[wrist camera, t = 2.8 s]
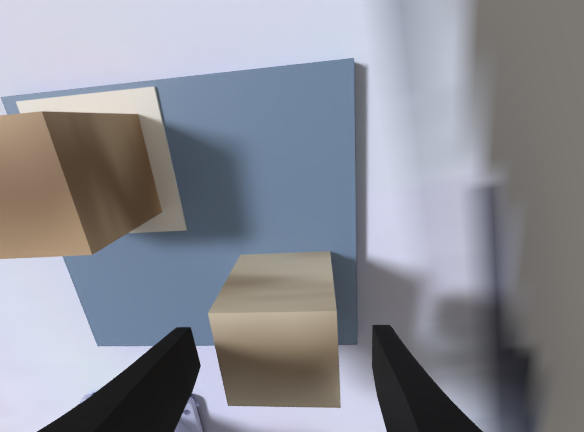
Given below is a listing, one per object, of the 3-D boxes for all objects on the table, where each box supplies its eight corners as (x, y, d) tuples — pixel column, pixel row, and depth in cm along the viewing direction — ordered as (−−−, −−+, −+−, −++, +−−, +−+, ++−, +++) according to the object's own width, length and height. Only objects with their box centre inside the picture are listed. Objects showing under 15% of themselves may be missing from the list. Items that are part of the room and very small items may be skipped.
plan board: (355, 336, 16) (357, 345, 15) (104, 338, 17) (96, 347, 17) (352, 61, 11) (354, 57, 11) (14, 98, 13) (-2, 97, 12)
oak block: (162, 212, 14) (91, 254, 9) (77, 217, 14) (-26, 259, 10) (137, 114, 12) (41, 111, 8) (44, 123, 13) (-94, 125, 8)
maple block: (333, 326, 15) (340, 407, 11) (252, 327, 16) (228, 405, 11) (330, 251, 14) (336, 310, 9) (240, 254, 14) (207, 313, 10)
